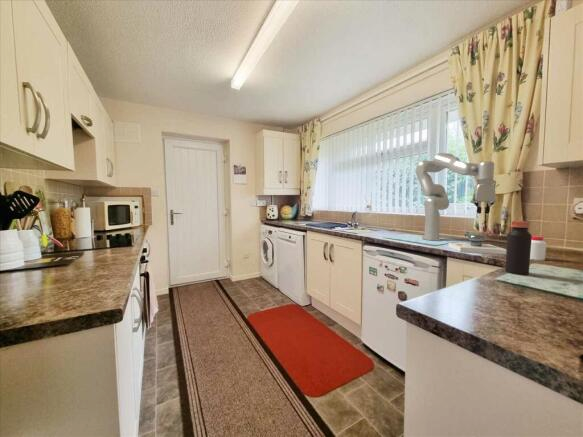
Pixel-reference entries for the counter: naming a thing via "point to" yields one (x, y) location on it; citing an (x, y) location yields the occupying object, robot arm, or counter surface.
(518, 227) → the vinegar
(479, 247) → the plate
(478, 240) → the grey elongated shape
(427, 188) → the robot arm
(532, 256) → the pill bottle
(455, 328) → the counter surface
